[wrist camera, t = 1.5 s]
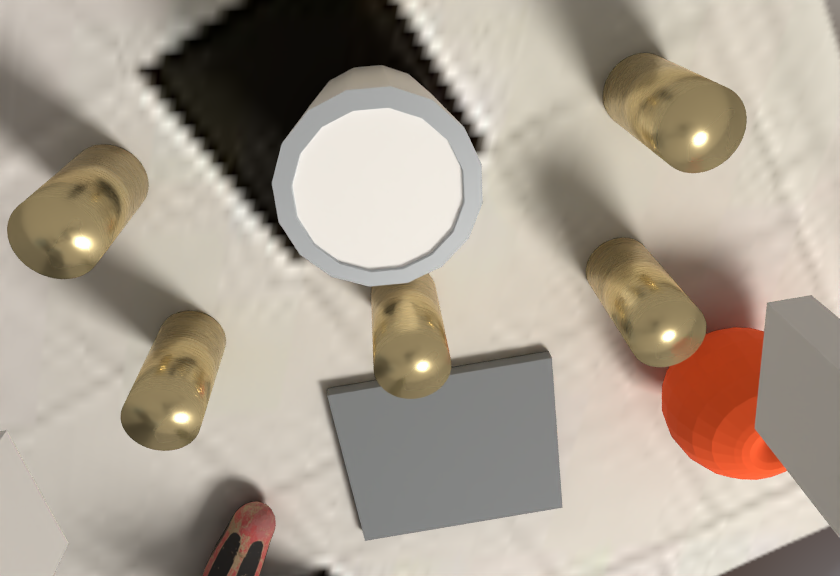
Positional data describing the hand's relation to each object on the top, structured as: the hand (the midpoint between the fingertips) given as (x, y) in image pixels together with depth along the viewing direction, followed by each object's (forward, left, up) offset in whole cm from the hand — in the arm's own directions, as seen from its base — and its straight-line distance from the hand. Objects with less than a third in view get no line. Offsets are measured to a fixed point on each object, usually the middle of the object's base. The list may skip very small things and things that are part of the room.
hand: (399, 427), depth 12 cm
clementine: (+15, -14, -19) cm, 28 cm away
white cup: (0, 0, -19) cm, 19 cm away
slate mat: (+1, -17, -19) cm, 25 cm away
